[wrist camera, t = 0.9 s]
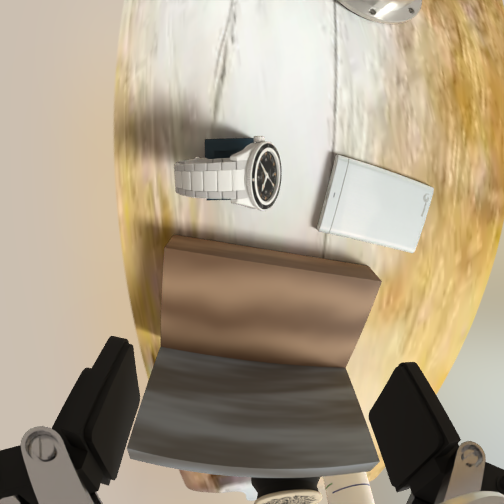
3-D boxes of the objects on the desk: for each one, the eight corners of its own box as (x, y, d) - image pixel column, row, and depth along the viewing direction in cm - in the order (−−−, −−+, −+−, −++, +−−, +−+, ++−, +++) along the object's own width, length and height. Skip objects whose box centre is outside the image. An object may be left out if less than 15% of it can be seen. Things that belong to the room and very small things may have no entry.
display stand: (173, 234, 31) (104, 338, 14) (368, 266, 33) (451, 369, 16) (167, 338, 36) (130, 458, 19) (332, 359, 38) (370, 470, 21)
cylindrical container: (360, 433, 45) (393, 543, 22) (330, 450, 47) (353, 557, 24) (339, 422, 43) (372, 547, 20) (308, 441, 45) (328, 560, 22)
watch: (273, 193, 30) (288, 222, 19) (193, 194, 29) (165, 224, 19) (273, 137, 27) (290, 135, 17) (191, 139, 27) (160, 139, 17)
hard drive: (435, 188, 28) (339, 154, 27) (414, 254, 31) (318, 232, 30) (427, 185, 30) (334, 153, 29) (407, 249, 33) (315, 227, 31)
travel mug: (244, 381, 39) (245, 497, 22) (301, 372, 38) (325, 486, 21) (254, 414, 41) (258, 515, 25) (305, 406, 41) (324, 506, 24)
